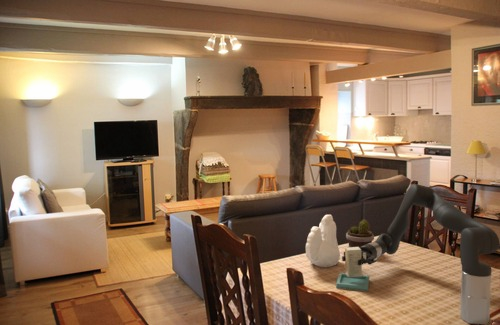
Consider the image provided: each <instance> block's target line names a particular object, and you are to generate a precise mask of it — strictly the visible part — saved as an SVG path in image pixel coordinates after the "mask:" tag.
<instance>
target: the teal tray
mask: <svg viewBox="0 0 500 325" xmlns="http://www.w3.org/2000/svg"><path fill="white" fill-rule="evenodd" d="M369 284H370V275H365V274H364V275H363V274H362V276H361V277H347V275H346V272H345V273H343V272H339V274H338V276H337V279H336V284H335V285H336V286H335V288H336V289H344V290H351V291H358V292H359V291H360V292H361V291H362V292H369Z"/></svg>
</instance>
